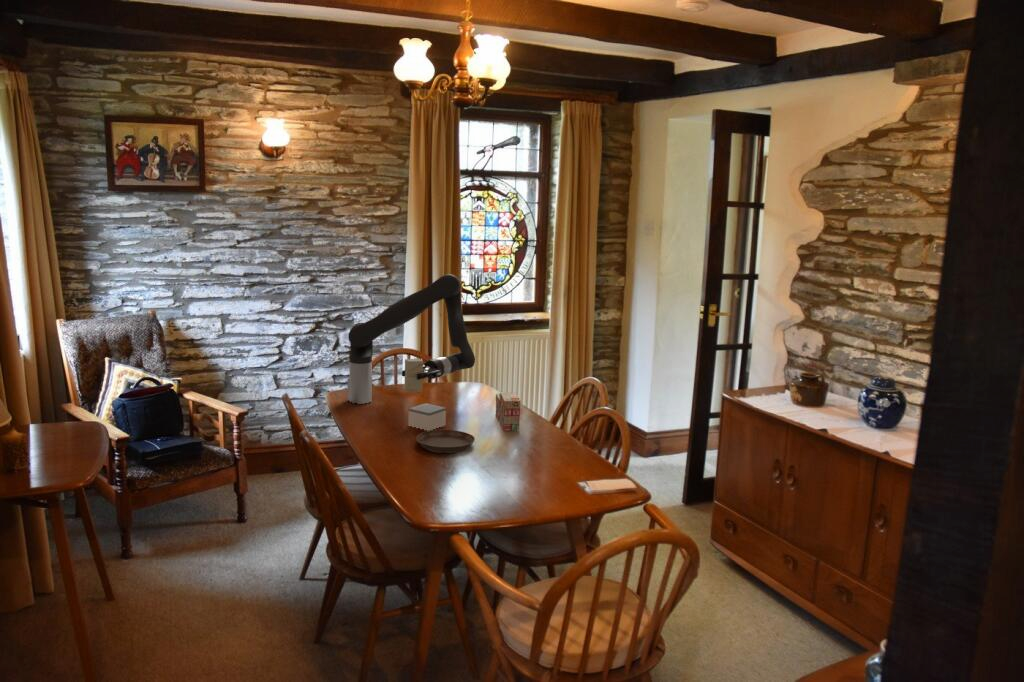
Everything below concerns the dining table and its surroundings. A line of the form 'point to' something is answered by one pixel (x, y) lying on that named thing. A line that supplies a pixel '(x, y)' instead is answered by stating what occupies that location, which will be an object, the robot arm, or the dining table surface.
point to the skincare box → (413, 375)
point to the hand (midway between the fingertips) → (410, 375)
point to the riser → (427, 416)
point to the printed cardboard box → (508, 410)
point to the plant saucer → (445, 441)
